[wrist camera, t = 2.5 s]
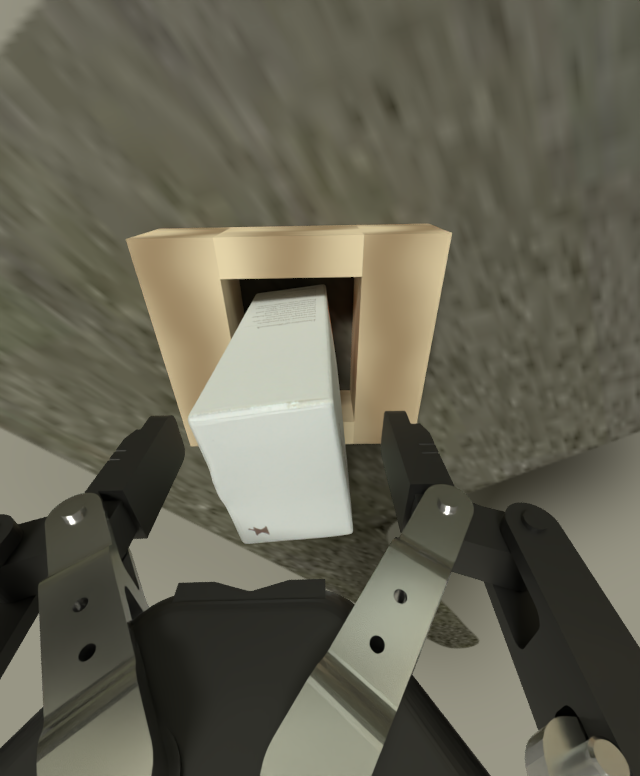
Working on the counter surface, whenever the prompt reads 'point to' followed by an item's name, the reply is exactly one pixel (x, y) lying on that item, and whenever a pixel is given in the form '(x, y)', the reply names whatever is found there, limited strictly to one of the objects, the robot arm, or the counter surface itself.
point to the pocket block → (300, 260)
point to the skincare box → (278, 422)
